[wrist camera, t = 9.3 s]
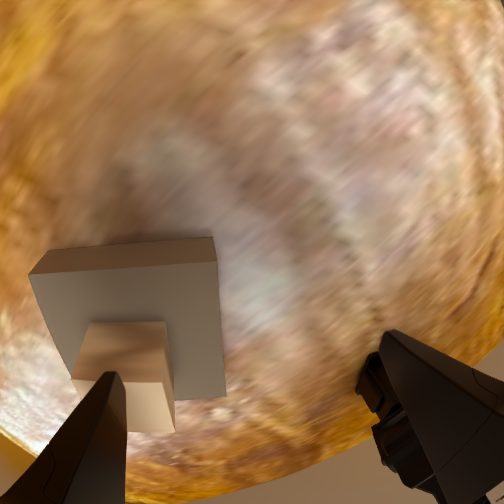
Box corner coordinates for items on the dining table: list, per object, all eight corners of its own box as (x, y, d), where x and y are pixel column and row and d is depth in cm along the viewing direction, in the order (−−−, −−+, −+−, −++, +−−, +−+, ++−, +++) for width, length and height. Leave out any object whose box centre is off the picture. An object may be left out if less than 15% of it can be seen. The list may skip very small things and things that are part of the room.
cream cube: (165, 321, 18) (162, 382, 13) (174, 374, 20) (175, 432, 15) (90, 321, 17) (70, 379, 12) (108, 374, 19) (98, 429, 15)
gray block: (212, 234, 20) (217, 261, 17) (221, 361, 25) (226, 396, 22) (50, 247, 18) (27, 274, 15) (92, 367, 23) (84, 400, 20)
